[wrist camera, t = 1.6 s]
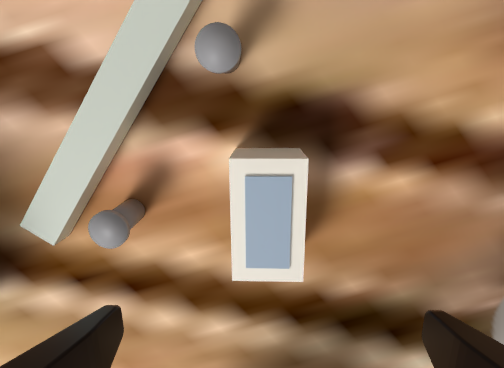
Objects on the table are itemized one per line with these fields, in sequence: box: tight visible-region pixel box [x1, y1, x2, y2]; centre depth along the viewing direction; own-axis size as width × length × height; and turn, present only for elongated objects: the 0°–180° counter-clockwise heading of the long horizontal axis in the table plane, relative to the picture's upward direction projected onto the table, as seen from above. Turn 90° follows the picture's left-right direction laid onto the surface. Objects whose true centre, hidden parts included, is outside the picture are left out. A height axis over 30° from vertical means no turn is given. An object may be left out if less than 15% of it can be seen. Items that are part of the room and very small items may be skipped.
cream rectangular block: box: [229, 148, 309, 282], centre depth 18 cm, size 7×4×4 cm, turn 0°
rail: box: [20, 0, 241, 249], centre depth 17 cm, size 6×20×3 cm, turn 145°
